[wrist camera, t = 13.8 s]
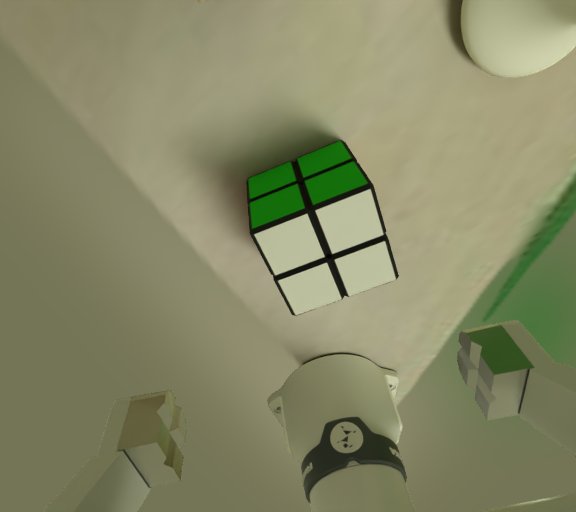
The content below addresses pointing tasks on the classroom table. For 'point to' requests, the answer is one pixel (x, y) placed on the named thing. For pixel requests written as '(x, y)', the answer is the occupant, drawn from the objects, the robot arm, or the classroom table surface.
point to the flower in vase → (518, 34)
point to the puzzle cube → (320, 228)
